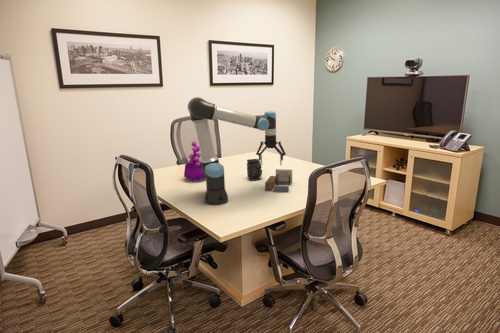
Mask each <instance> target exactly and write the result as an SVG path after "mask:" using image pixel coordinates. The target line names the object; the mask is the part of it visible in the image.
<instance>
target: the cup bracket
mask: <svg viewBox="0 0 500 333" xmlns="http://www.w3.org/2000/svg"><path fill="white" fill-rule="evenodd" d="M275 176H276V185H275V186H291V184H293V169H283V168H282V169H281V168H279V169H278V168H276V169H275Z"/></svg>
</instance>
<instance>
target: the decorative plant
mask: <svg viewBox="0 0 500 333" xmlns="http://www.w3.org/2000/svg"><path fill="white" fill-rule="evenodd" d="M197 144H198V142H196V141H192V142H191V146H192V148H191V150H192V152H193V153H191V154H189V155H188V158H189V161H188V162H186V163H185V164H184V172H183V177H185V179H187V180H189V181H195V182H197V181H202V180H204V179H206V178H205V176H204V174H203V172H202V165H201V160H200V158H201V157H202V155H201V152H200V151H201V150H200V146H198V145H197Z"/></svg>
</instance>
